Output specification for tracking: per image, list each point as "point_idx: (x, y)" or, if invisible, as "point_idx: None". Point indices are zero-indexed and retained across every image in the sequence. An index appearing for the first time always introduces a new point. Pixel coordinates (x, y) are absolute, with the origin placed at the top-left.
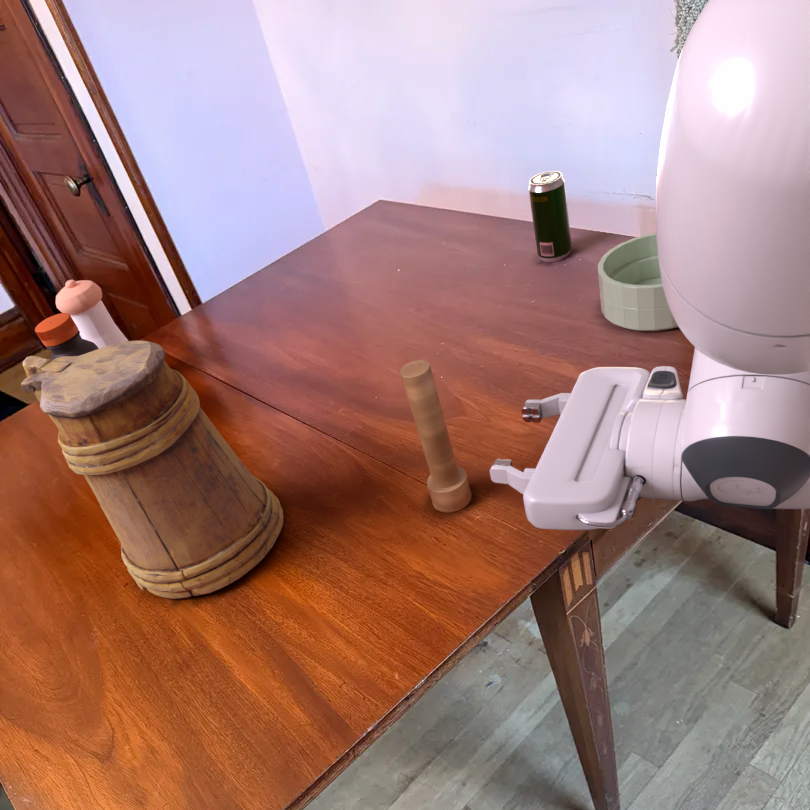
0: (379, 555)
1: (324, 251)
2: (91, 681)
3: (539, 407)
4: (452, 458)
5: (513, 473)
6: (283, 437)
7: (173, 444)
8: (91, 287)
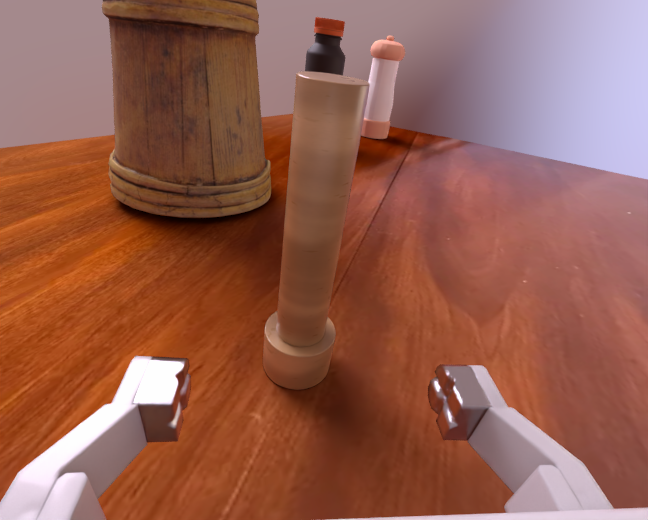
0: (164, 308)
1: (590, 173)
2: (23, 169)
3: (476, 411)
4: (304, 307)
5: (72, 434)
6: (355, 197)
7: (147, 24)
8: (396, 46)
